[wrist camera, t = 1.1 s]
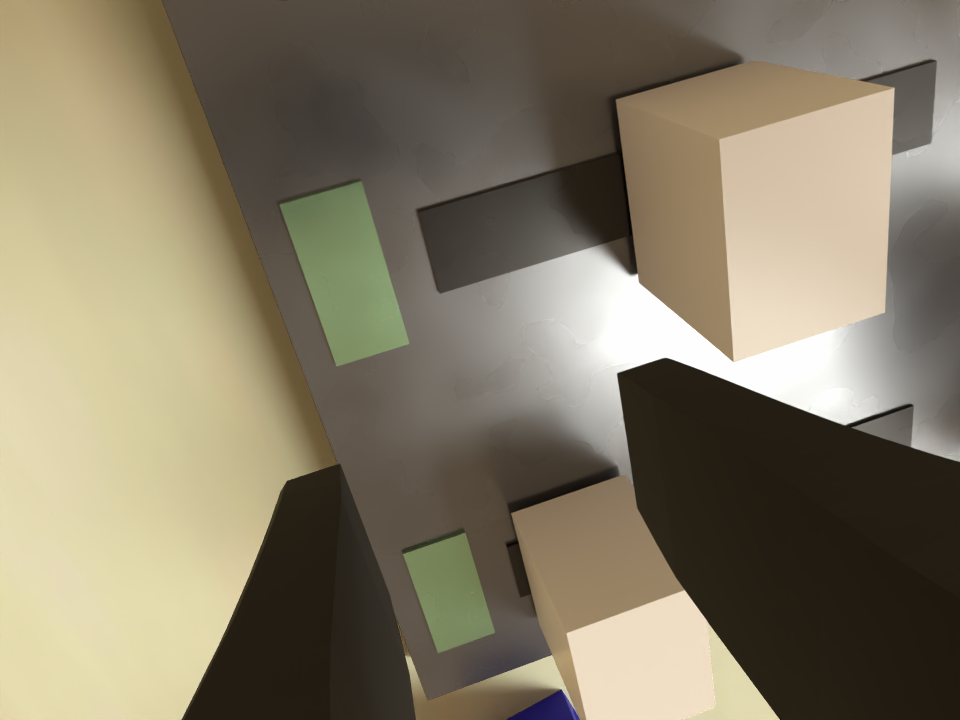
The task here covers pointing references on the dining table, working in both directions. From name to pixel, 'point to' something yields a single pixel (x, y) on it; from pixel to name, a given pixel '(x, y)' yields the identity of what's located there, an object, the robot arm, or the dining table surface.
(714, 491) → the robot arm
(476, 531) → the breaker panel
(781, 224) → the breaker
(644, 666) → the on breaker
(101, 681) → the dining table surface
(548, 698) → the cable clip
